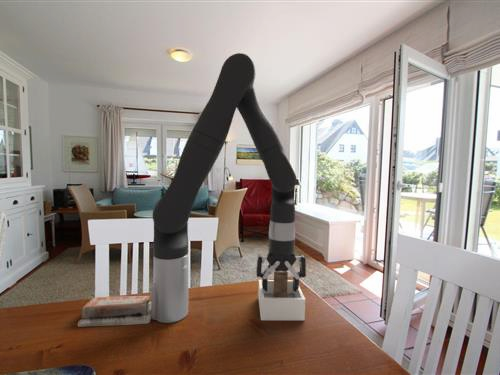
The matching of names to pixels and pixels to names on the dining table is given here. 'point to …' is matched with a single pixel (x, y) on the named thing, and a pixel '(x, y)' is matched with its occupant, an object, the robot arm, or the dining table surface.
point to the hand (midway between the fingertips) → (280, 290)
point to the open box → (281, 303)
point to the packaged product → (116, 311)
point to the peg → (280, 284)
